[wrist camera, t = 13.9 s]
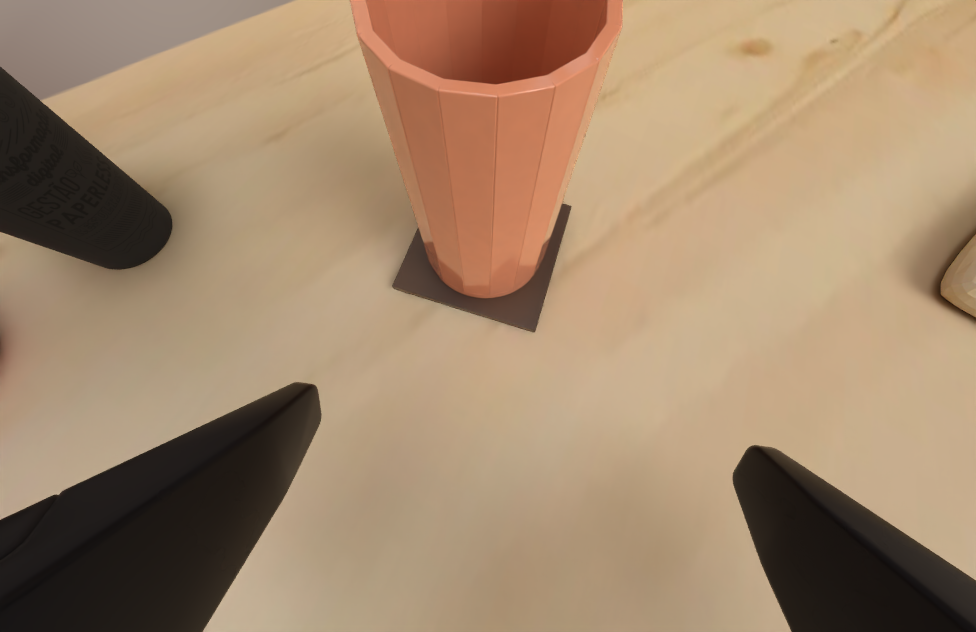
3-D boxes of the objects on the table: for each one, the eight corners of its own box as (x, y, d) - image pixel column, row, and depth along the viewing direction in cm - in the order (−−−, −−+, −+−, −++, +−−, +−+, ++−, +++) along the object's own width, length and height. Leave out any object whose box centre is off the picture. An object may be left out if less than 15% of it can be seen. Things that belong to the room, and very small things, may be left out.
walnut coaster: (570, 209, 22) (571, 205, 22) (534, 332, 19) (535, 330, 19) (444, 174, 23) (443, 170, 22) (393, 288, 20) (391, 286, 20)
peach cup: (566, 254, 21) (680, 12, 9) (473, 322, 19) (456, 143, 7) (495, 178, 22) (509, -114, 10) (405, 234, 21) (301, -26, 9)
